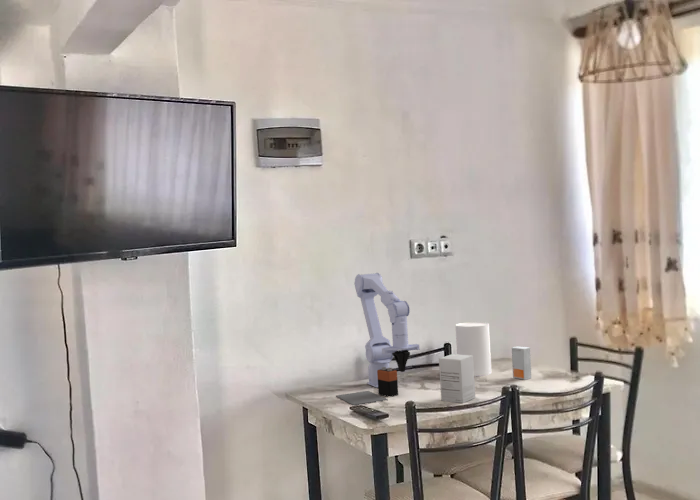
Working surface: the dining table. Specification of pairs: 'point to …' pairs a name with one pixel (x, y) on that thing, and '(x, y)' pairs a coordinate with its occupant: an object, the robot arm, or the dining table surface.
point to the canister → (475, 345)
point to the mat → (361, 397)
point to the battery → (387, 382)
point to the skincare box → (521, 362)
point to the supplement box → (457, 378)
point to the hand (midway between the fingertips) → (402, 371)
